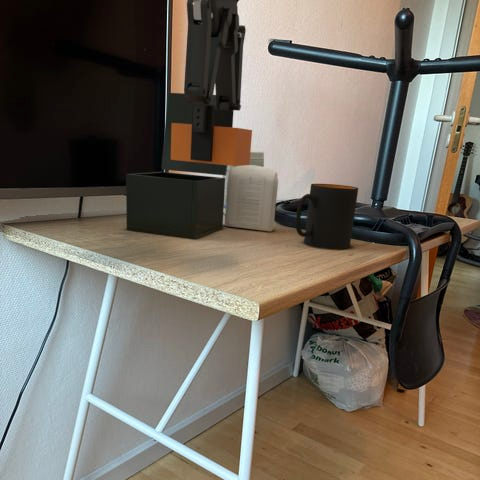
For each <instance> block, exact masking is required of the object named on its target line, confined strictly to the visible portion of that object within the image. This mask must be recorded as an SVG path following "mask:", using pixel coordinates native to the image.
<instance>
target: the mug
mask: <svg viewBox="0 0 480 480" xmlns="http://www.w3.org/2000/svg"><path fill="white" fill-rule="evenodd" d="M309 189H310V190H309V193H306V194H304V195H303V196H302V197H301V198H300V199H299V200H298V201H299V202H298V203H297V208H296V216H295V231H296V233H297V234H298V235H299V236H300V237H302V238H304V244H305V245H307V246H311V247H313V248H319V249H325V250H347V249H350V247H351V241H352V235H353V228H354V220H355V215H356V208H357V203H358V202H357V200H358V194H359V187H356V186H351V185H343V184H334V183H310V188H309ZM307 200H308V205H307V206H308V207H307V215H306V224H305V232H303V231H302V228H301V221H302V212H303V211H302V210H303V206H304V203H305V202H306V201H307Z"/></svg>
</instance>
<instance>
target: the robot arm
mask: <svg viewBox="0 0 480 480" xmlns="http://www.w3.org/2000/svg"><path fill="white" fill-rule="evenodd" d="M238 2H240V0H186V14H187V15H186V16H187V32H186V33H187V34H186V51H185V67H184V83H183V93H184V94H185V97H184V98H185V102H186V103H193V108H192V133H191V158H190V160H199V161H210V162H211V161H212V152H213V134H214V126H219V127H232V128H234V112H235V111H241V109H242V104H241V97H242V79H243V78H242V77H243V59H244V44H245V38H246V31H247V30H246V25H241V24H240V16H239V11H238ZM214 91H215V95H216V107H217V109H215V106H210V104H211V103H212V99H213V95H214ZM208 104H209V105H208ZM233 110H234V111H233Z"/></svg>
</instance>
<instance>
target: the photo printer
mask: <svg viewBox="0 0 480 480" xmlns="http://www.w3.org/2000/svg"><path fill="white" fill-rule="evenodd" d="M278 189H279V178H278V172H277V171H275V170H273V169H271V168H268V167H265V166H264V167H262V166H256V165H243V166H236V167H233V168H230V171H229V176H228V183H227V197H226V210H225V214H224V226H225V227H231V228H236V229H237V228H238V229H244V230H245V229H246V230H255V231H261V232H267V233H268V232H269V233H270V232H272V231H274V227H275V226H274V225H275V216H276V207H277V199H278V198H277V197H278Z"/></svg>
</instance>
